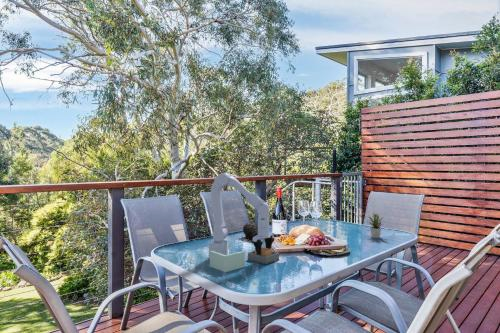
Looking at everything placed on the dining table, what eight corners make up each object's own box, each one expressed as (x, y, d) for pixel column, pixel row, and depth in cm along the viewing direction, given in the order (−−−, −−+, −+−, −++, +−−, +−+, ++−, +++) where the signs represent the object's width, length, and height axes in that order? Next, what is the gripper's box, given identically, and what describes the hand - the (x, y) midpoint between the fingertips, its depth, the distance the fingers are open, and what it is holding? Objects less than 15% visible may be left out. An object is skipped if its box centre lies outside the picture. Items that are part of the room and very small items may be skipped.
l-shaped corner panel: (245, 266, 168) (244, 251, 168) (225, 272, 160) (225, 256, 160) (229, 261, 177) (229, 246, 177) (209, 266, 169) (209, 250, 169)
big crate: (266, 264, 172) (266, 257, 172) (247, 259, 180) (247, 252, 180) (279, 259, 180) (279, 252, 180) (260, 255, 188) (260, 248, 188)
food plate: (295, 249, 198) (295, 243, 198) (321, 243, 213) (322, 237, 213) (331, 261, 179) (332, 254, 179) (357, 253, 194) (358, 247, 194)
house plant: (360, 234, 239) (360, 210, 238) (381, 234, 238) (381, 210, 238) (366, 239, 225) (366, 213, 224) (388, 239, 224) (388, 213, 224)
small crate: (265, 261, 176) (265, 251, 175) (254, 258, 180) (254, 248, 180) (271, 258, 179) (271, 249, 179) (261, 256, 184) (261, 246, 184)
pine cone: (255, 242, 215) (255, 226, 215) (239, 237, 230) (239, 221, 230) (269, 240, 221) (269, 224, 221) (252, 235, 236) (252, 220, 236)
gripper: (260, 229, 171) (260, 257, 172) (278, 225, 182) (278, 251, 183) (249, 227, 176) (249, 254, 176) (267, 223, 187) (267, 249, 187)
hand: (263, 253), depth 180 cm, fingers open, 7 cm apart
